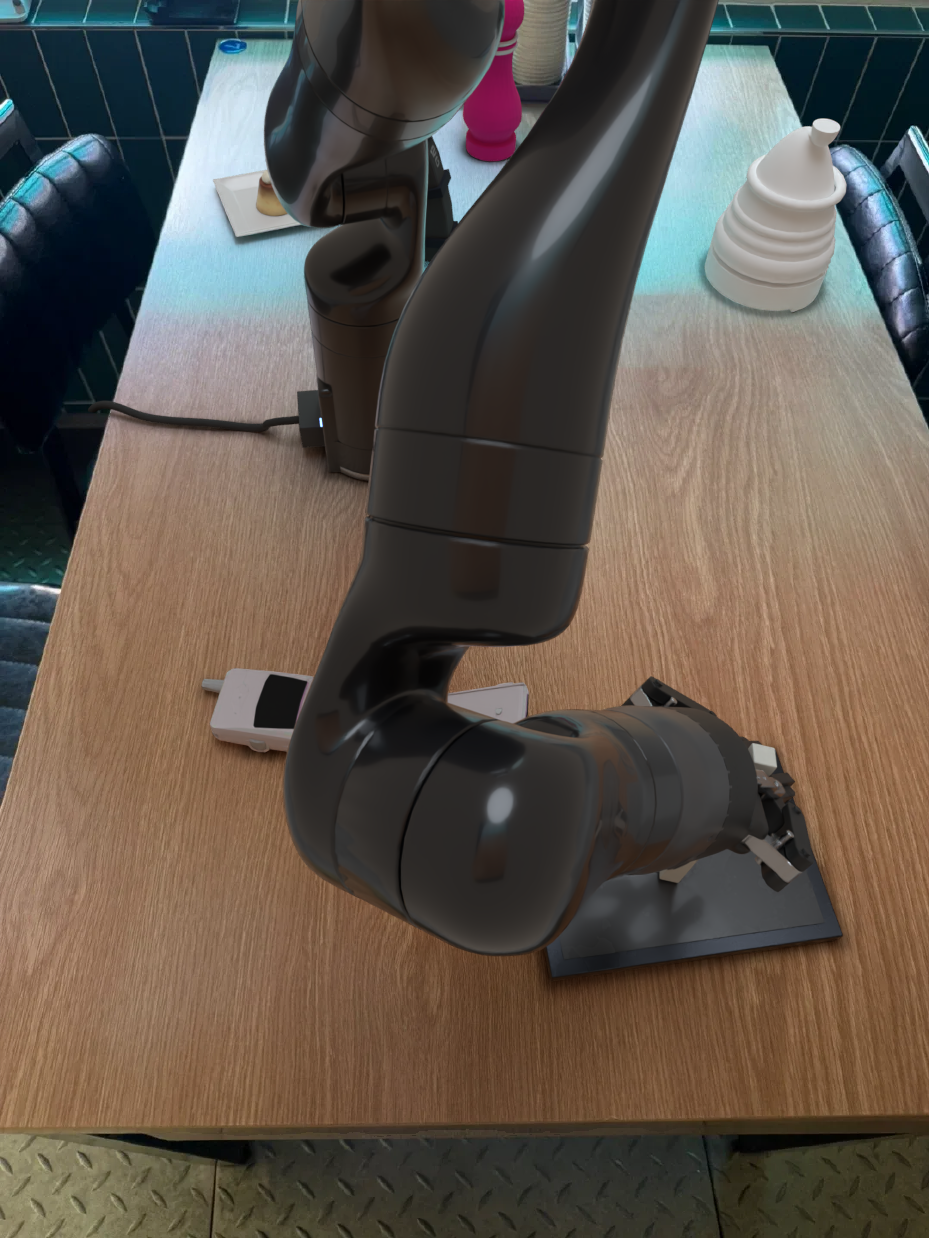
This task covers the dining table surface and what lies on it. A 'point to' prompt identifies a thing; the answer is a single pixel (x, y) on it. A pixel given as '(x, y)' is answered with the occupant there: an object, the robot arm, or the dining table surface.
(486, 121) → the pepper mill
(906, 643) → the dining table surface
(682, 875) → the stylus
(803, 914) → the tablet
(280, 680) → the mobile phone
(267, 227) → the dessert
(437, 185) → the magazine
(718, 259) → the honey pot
